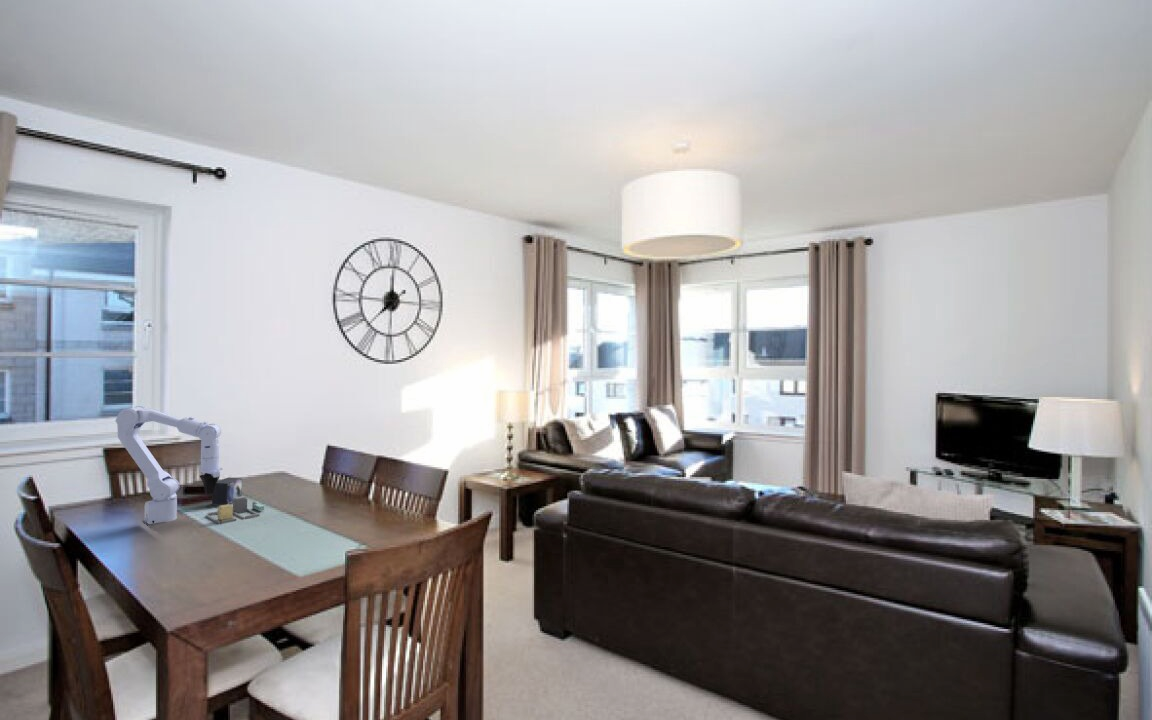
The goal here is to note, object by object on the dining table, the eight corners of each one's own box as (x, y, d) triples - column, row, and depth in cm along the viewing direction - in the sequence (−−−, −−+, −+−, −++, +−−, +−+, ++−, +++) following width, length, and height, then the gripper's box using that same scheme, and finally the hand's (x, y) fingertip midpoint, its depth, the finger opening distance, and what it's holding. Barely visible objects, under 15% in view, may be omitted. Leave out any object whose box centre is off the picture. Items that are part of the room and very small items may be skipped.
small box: (227, 509, 232) (227, 482, 232) (211, 508, 232) (211, 482, 232) (242, 502, 243) (243, 477, 243) (227, 502, 243) (227, 477, 243)
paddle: (258, 512, 223) (258, 505, 223) (251, 509, 228) (251, 502, 228) (264, 511, 225) (264, 504, 225) (257, 508, 229) (257, 501, 229)
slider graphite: (235, 513, 221) (235, 499, 221) (232, 512, 223) (232, 497, 223) (247, 511, 224) (247, 497, 224) (244, 510, 226) (244, 495, 226)
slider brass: (220, 522, 210) (220, 507, 210) (217, 521, 212) (217, 505, 212) (232, 520, 213) (232, 505, 213) (229, 518, 215) (229, 503, 215)
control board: (209, 530, 205) (209, 523, 205) (194, 521, 216) (194, 515, 216) (274, 517, 222) (275, 511, 222) (257, 509, 232) (257, 503, 232)
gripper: (229, 458, 215) (228, 495, 215) (215, 453, 224) (214, 488, 224) (207, 460, 209) (207, 498, 210) (194, 455, 219) (193, 491, 219)
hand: (209, 493), depth 217 cm, fingers closed
